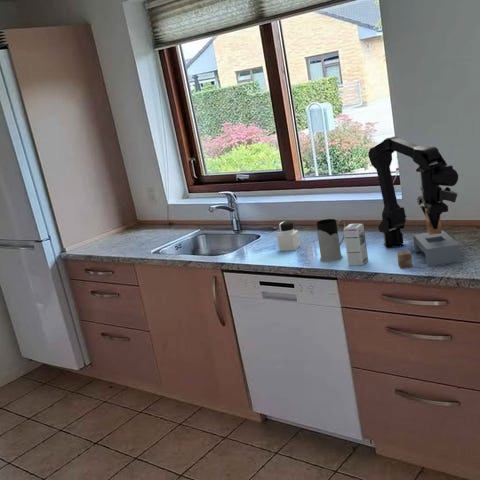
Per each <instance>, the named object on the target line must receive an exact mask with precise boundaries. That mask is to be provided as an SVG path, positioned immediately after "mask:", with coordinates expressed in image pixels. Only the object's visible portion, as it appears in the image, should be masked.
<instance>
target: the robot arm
mask: <svg viewBox="0 0 480 480" xmlns="http://www.w3.org/2000/svg"><path fill="white" fill-rule="evenodd" d="M395 152H396V153H399V154H401V155H404V156H406V157H409V158H411V159H412V161H413V162H414V163H415V164H416V165H418V167H417V168H416V169H415V171H416V172H417V173H418V172H419V173H420V181H421V187H420V191H421V192H422V195H419V196H418V197H416V202H417V203H416V204H417V205H418V206H420V209H421V211H422V213H423V214H424V216H425V217H426V214H427V216H428V218H429V220H430V222H431V224H432V226H433V228H434V229H437V227H438V222H439V218H440V219H441V215H442V214H443V213H447V212H449V206H448V205H447V204H446V203H445V202H444V201H448V202H451V203H456V200H457V197H458V193H457V192H456V191H453V190H452V189H451V187H454V186H455V185H456V184H457V183H458V180H459V174H458V172H457V170H456V169H454V167H453V165H448V164H447V162H446V160H445V159H444V157H443V156H442V155H441V152H440V151H439V149H438V148H437V147H435V146H429V145H424V146H423V145H418V144H415V143H412V142H410V141H407V140H404V139H402V138H400V137H398V136H396V135H394V136H390V137H386V138H385V139H384V140H382V141H381V142H380V143H378V144H377V145H374V146H372V147H370V149H369V150H368V155H367V156H368V158H369V162H370V164H371V166H372V167H373V168H374V169H375V171H376V174H377V178H378V183H379V188H380V192H381V196H382V201H383V205H384V206H383V210H382V212H381V217H382V220H381V222H380V223H379V224H378V227H377V228H378V230H379V233H383V240H384V242H383V245H384V246H385V248H386V249H389V248H397V247H403V246H404V236H403V233H402V231H401V230H402V229H404V228H405V224H406V220H407V215H406V210H405V208H404V206H402V207H401V205H399V204H398V200H397V196H396V189H395V186H394V181H393V177H392V172H391V171H392V170H391V164H392V161H393V154H394V153H395ZM442 186H444V187H442ZM425 208H427V211H426V214H425Z"/></svg>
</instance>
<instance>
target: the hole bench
mask: <svg viewBox="0 0 480 480" xmlns="http://www.w3.org/2000/svg"><path fill="white" fill-rule="evenodd" d="M412 235H413V236H412V237H413V246H414V251H415V252H416V253H419V252H423V253H424V259H425V264H426V265H427V266H428V267H429V266H438V265H444V263H445V264H450V263H457V262H462V258H461V246H460V243H459V242H458V241H456V240H455V239H454V238H453V237H452V236H451V235H449V234H448V233H447V232H446V231H445V230H441V234H434V235H429V234H428V233H427V232H423V233H417V234H412ZM437 264H438V265H437Z"/></svg>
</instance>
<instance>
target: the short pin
mask: <svg viewBox="0 0 480 480" xmlns="http://www.w3.org/2000/svg"><path fill="white" fill-rule="evenodd" d="M396 254H397V263H398V267H399V268H400V269H403V270H404V269H409V268H413V258H412V257H413V256H412V252H411V251H410V250H408V249H407V250H402V251H397V253H396Z"/></svg>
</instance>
